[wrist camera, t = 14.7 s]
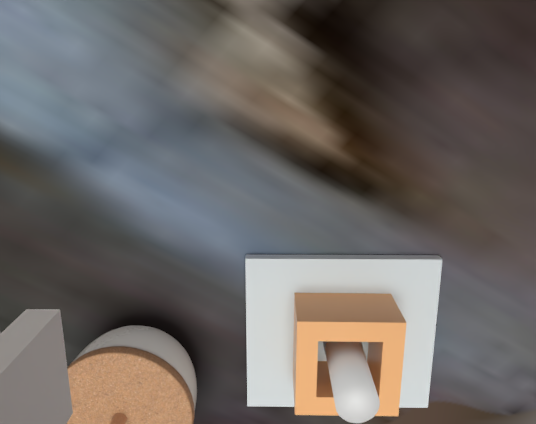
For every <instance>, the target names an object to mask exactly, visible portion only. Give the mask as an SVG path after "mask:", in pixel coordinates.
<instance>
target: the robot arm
mask: <svg viewBox="0 0 536 424" xmlns="http://www.w3.org/2000/svg"><path fill="white" fill-rule="evenodd" d="M72 414H73V410H72V402H71V394H70V386H69V378H68V369H67V361H66V353H65V345H64V337H63V329H62V321H61V313H60V309H26V310H25V311H24V312H23V313H22V314H21V315H20V316H19V317H18V318H17V319H16V320H15V321H14V322H13V323H12V324H11V325H9V326H8V327H7V328H6V329H5V330H4V331H3V332H2V333H1V334H0V424H67V422H68V420H69V419H70V417H71V415H72Z"/></svg>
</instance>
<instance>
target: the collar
mask: <svg viewBox="0 0 536 424" xmlns="http://www.w3.org/2000/svg"><path fill="white" fill-rule="evenodd" d="M406 324H407V323H406V321H405V319H404V317H403V315H402V313H401V311H400V309H399V308H398V306H397V304H396V302H395V300H394V298H393V296H392V295H391V294H377V293H294V339H293V390H294V407H295V415H339V414H338V413H337V411H336V407H335V402H334V397H333V391H332V386H331V380H330V375H329V369H328V364H327V361H318V341H334V342H368V357H367V363H368V366H369V369H370V372H371V375H372V378H373V381H374V384H375V388H376V391H377V394H378V397H379V400H380V406H379V410H378V412H377V413H376V415H375V416H398V414H399V403H400V392H401V380H402V369H403V358H404V346H405V335H406Z"/></svg>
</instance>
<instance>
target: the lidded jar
mask: <svg viewBox="0 0 536 424" xmlns="http://www.w3.org/2000/svg"><path fill="white" fill-rule="evenodd" d="M67 369H68V378H69V386H70V394H71V402H72V410H73V414H72V415H71V417H70V419H69V420H68V422H67V424H193V422H194V414H195V413H194V412H195V406H196V399H197V381H196V374H195V370H194V366H193V364H192V362H191V359H190V357H189V355H188V353H187V352H186V350H185V349H184V347H183V346H182V345H181V344H180V343H179V342H178V341H177V340H176V339H174V338H173V337H172V336H170V335H169V334H167V333H166V332H164V331H161V330H159V329H156V328H153V327H149V326H142V325H130V326H123V327H120V328H117V329H114V330H111V331H109V332H107V333H104V334H102V335H101V336H100V337H98V338H97V339H95V340H94V341H93V342H91V343H90V344H89V345H88V346H87V347H86V348H84V349H83V350H82V351H81V353H80V354H79V355H78V356H77V357H76V358H75V359H74V361H73V362H72V363H71V364H70V365H69V366H68V367H67Z"/></svg>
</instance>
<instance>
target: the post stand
mask: <svg viewBox="0 0 536 424" xmlns="http://www.w3.org/2000/svg"><path fill="white" fill-rule="evenodd" d="M245 264H246V337H247V406H279V407H294V390H293V339H294V293H377V294H391V295H392V296H393V298H394V300H395V302H396V304H397V306H398V308H399V309H400V311H401V313H402V315H403V317H404V319H405V321H406V323H407V324H406V335H405V346H404V358H403V369H402V380H401V392H400V403H399V407H404V408H428V400H429V390H430V380H431V370H432V360H433V350H434V340H435V330H436V320H437V309H438V299H439V289H440V279H441V269H442V259H441V257H440V256H439V255H249V254H246V258H245ZM367 357H368V342H334V341H318V361H327V364H328V369H329V375H330V380H331V386H332V391H333V397H334V402H335V407H336V411H337V413H338V414H339V416H340V417H341V418H342V419H344V420H346V421H348V422H351V423H362V422H365V421H368V420H370V419H371V418H373V417H374V416H375V415H376V413H377V412H378V410H379V406H380V400H379V397H378V394H377V391H376V388H375V384H374V381H373V378H372V375H371V372H370V369H369V366H368V363H367Z"/></svg>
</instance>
